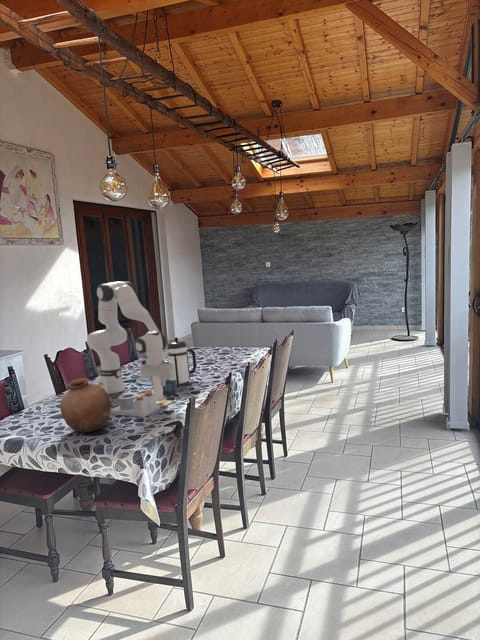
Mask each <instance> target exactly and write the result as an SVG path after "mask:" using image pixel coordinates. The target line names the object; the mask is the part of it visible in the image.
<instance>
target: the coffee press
mask: <svg viewBox="0 0 480 640" xmlns="http://www.w3.org/2000/svg"><path fill="white" fill-rule="evenodd" d="M165 352H166V353H167V361H170V362H171V363H172V364H173V369H174V377H173V378H170V379H169V380H172V379H176V384H177V388H179V387H180V385H182V384H186V383H188V384H190V385H191V384H192V383H193V380H191V376H190V375H191V374H194V373H195V372H196V371H197V358H196V353H195V351H194V350H193V349H191V348H188V344H187V343H186V341H184V340H179V338H178V337H177V336H176V337H174V340H173V341H170V342H167V345H166V350H165ZM188 353H190V354H191V356H192V357H191V358H192V369H191V370H190V366H189V365H190V364H189V356H188V355H189V354H188Z"/></svg>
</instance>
